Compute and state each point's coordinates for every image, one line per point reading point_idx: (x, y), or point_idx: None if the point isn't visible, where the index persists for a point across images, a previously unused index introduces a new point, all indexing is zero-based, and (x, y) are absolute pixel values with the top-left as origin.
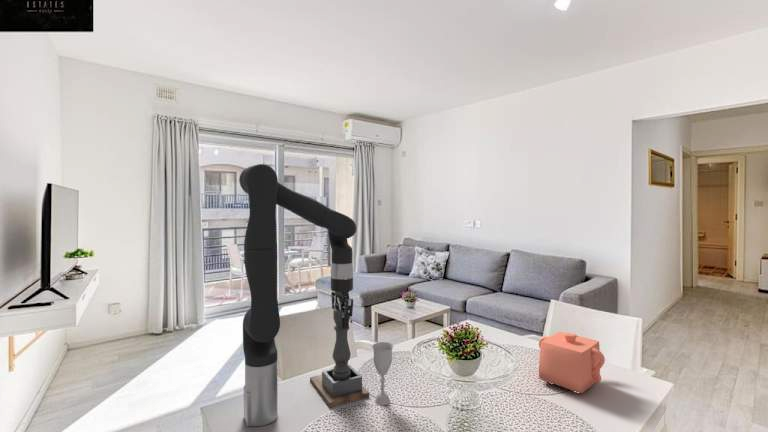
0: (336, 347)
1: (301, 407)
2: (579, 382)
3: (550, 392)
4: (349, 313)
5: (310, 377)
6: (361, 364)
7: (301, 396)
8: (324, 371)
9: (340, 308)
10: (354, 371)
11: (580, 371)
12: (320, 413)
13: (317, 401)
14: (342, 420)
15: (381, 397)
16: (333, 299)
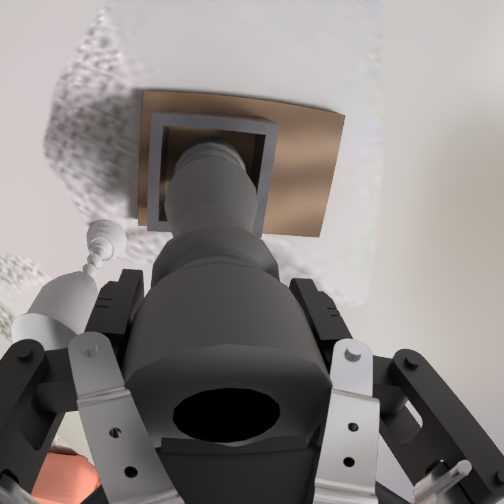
0: (200, 185)
1: (198, 20)
2: None
3: (56, 441)
4: (29, 402)
5: (343, 116)
6: (332, 293)
7: (264, 45)
8: (269, 130)
9: (87, 413)
10: None
11: None
12: (132, 56)
13: (202, 73)
14: (69, 101)
15: (90, 238)
16: (446, 440)
